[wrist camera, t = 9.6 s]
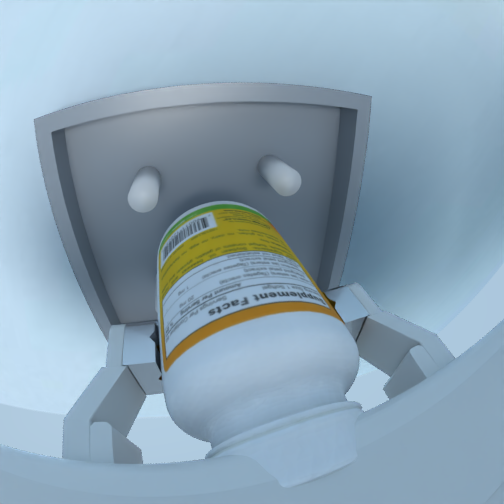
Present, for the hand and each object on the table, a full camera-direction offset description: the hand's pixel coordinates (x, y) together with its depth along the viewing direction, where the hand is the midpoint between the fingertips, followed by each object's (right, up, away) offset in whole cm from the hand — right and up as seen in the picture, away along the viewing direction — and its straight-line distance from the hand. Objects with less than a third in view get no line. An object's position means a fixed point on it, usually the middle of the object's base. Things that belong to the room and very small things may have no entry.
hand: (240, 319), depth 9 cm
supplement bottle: (-1, +2, +3) cm, 4 cm away
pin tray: (-2, +4, +6) cm, 7 cm away
